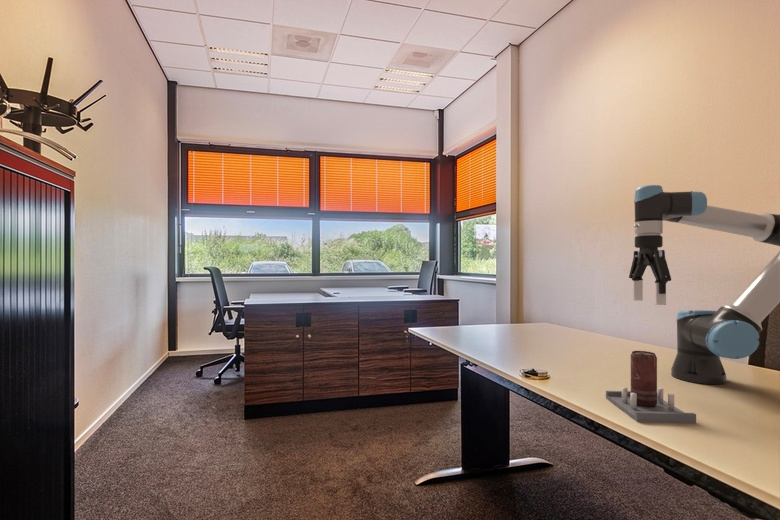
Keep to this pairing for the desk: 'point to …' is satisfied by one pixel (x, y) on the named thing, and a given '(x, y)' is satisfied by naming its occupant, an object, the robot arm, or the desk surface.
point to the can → (644, 378)
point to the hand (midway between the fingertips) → (648, 302)
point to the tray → (649, 408)
